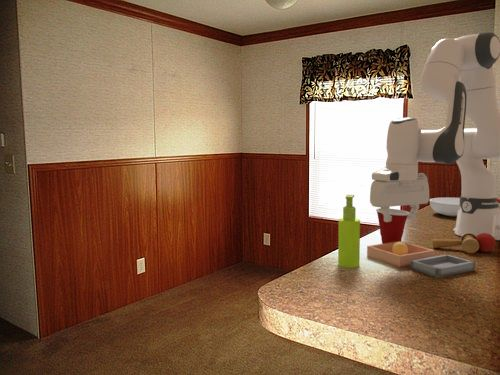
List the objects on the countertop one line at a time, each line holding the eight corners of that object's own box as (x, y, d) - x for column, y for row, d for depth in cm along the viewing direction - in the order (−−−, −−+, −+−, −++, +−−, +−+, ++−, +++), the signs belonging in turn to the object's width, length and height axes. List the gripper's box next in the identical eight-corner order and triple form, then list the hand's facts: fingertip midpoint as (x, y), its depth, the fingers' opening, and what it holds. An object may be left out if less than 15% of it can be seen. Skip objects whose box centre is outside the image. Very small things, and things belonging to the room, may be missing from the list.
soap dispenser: (360, 262, 125) (361, 194, 123) (358, 268, 119) (359, 197, 117) (340, 260, 127) (340, 193, 125) (337, 267, 121) (337, 196, 119)
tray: (446, 262, 124) (446, 254, 124) (474, 270, 116) (475, 261, 116) (410, 268, 118) (411, 260, 118) (437, 278, 110) (438, 269, 110)
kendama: (434, 255, 136) (498, 252, 130) (431, 235, 137) (495, 231, 130) (434, 253, 143) (495, 250, 137) (431, 234, 144) (492, 230, 137)
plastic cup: (411, 249, 138) (412, 213, 137) (376, 248, 140) (377, 212, 139) (406, 241, 149) (407, 207, 148) (374, 240, 151) (374, 207, 150)
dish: (399, 250, 137) (400, 241, 137) (434, 261, 125) (434, 250, 125) (367, 256, 131) (367, 246, 131) (399, 267, 119) (400, 256, 119)
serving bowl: (424, 216, 196) (424, 201, 196) (434, 210, 213) (435, 196, 213) (475, 221, 185) (476, 205, 184) (481, 213, 202) (482, 199, 201)
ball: (399, 254, 131) (400, 239, 131) (411, 257, 127) (411, 242, 127) (388, 255, 129) (389, 241, 129) (399, 259, 125) (400, 244, 125)
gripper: (418, 172, 133) (417, 216, 134) (367, 174, 124) (365, 221, 125) (435, 173, 127) (433, 219, 128) (382, 175, 118) (381, 225, 120)
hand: (399, 220), depth 127 cm, fingers open, 8 cm apart
